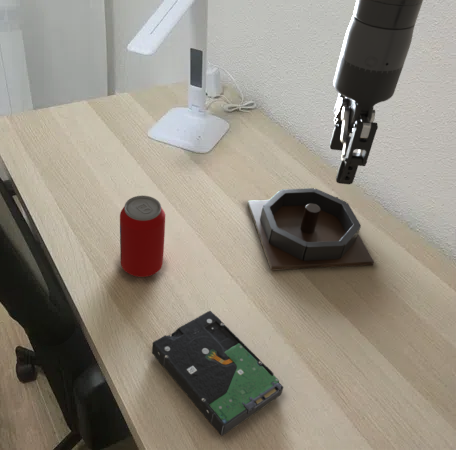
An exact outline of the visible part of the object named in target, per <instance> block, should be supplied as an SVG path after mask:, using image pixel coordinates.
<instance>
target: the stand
mask: <svg viewBox="0 0 456 450" xmlns="http://www.w3.org/2000/svg"><path fill="white" fill-rule="evenodd" d="M335 197H336V198H338V199H339V197H338V196H335ZM268 200H269V199H252V200H247V202H246V203H247V204H246V205H247V207H248V210H249V212H250V216H251V219H252V221H253V224H254V227H255V230H256V232H257V235H258V238H259V241H260V243H261V246H262V249H263V252H264V254H265V257H266V260H267V263H268V266H269V269H270V271H278V270H280V271H281V270H297V269H300V270H301V269H317V268H319V269H320V268H335V267H336V268H337V267H358V266H359V267H361V266H374V262H375V261H374V259H373V257H372V255H371V254H370V252H369V250H368V249H367V247H366V244H365V242H364V241H363V239H362V238H361V236H360V234H359V233H358V236H357V239H356V241H355V242H354V243H353V244H352V245H351V247H350V248H349V249H348V250H347V252H346V253H345V254H344V255H343V256H342V258H339V259H330V260H309V261H304V260H300V259H298V258H296V257H294V256H292V255H291V254H289V253H287V252H285V251H283V250H281V249H279V248H277V247H275V246H273V245H271V244H270V243H269V242H268V240H267V237H266V234H265V232H264V229H263V226H262V224H261V221H260V217H261V212H262V207H263V205H264V204H265V203H266V202H267V201H268ZM273 217H274V219H275V222H276V224H277V227H278V228H279V229H281V230H283V231H285V232H287V233H289V234H291V235H293V236H295V237H297V238H299V239H301V240H303V241H305V242H327V241H340V240H341V238H342V237H343V236H344V235H345V234H346V232H345V230H344V228H343V226H342V224H341V223H340V221H339V219H338V217H335V216H333V215H331V214H329V213H327V212H325V211H322V210H320V207H319V206H318V205H316V204H307V205H300V206H282V207H281V208H280V209H279V210H278V211H276V212H275V213H274V214H273Z"/></svg>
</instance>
